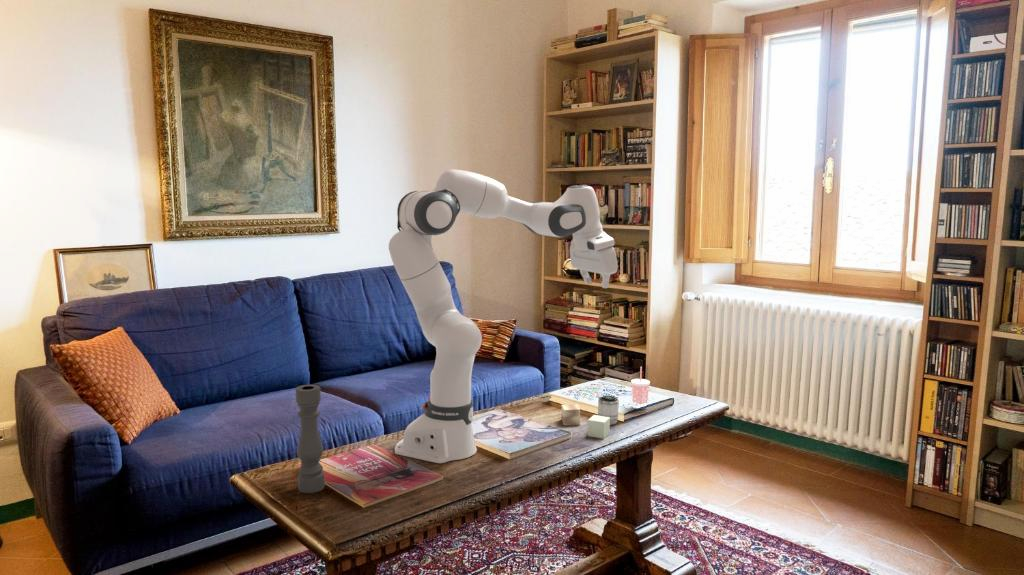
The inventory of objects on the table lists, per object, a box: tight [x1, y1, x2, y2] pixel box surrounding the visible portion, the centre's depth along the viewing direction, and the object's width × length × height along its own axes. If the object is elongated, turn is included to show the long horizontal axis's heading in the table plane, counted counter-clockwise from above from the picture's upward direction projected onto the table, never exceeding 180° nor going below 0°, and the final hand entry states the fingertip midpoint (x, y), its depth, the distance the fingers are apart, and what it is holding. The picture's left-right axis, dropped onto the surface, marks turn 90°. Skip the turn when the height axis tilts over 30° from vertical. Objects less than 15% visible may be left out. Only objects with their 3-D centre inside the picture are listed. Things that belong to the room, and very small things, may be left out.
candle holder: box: [295, 384, 326, 494], centre depth 173 cm, size 6×6×25 cm
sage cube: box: [587, 414, 611, 439], centre depth 213 cm, size 5×5×5 cm
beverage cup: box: [630, 366, 651, 404], centre depth 237 cm, size 6×6×14 cm
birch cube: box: [560, 403, 581, 426], centre depth 223 cm, size 5×5×5 cm
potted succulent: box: [597, 395, 620, 426], centre depth 223 cm, size 6×6×8 cm
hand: (596, 285), depth 212 cm, fingers open, 8 cm apart
